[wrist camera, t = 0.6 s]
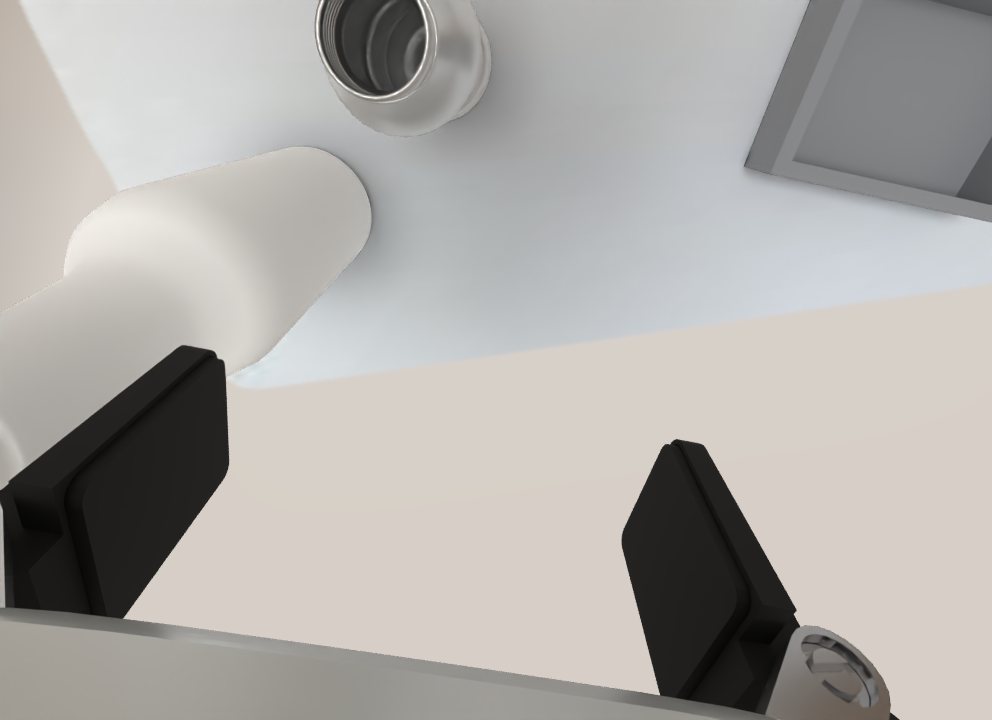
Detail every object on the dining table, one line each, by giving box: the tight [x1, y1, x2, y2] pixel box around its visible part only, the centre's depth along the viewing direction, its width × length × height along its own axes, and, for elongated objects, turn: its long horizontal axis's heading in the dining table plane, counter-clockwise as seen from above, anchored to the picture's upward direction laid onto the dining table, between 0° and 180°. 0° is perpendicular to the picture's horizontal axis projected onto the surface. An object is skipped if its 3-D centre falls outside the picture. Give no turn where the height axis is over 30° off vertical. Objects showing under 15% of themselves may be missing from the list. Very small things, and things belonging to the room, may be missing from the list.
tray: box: [744, 0, 992, 222], centre depth 32 cm, size 12×16×4 cm
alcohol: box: [0, 146, 372, 490], centre depth 25 cm, size 9×9×30 cm
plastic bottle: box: [315, 0, 492, 137], centre depth 25 cm, size 6×7×20 cm
